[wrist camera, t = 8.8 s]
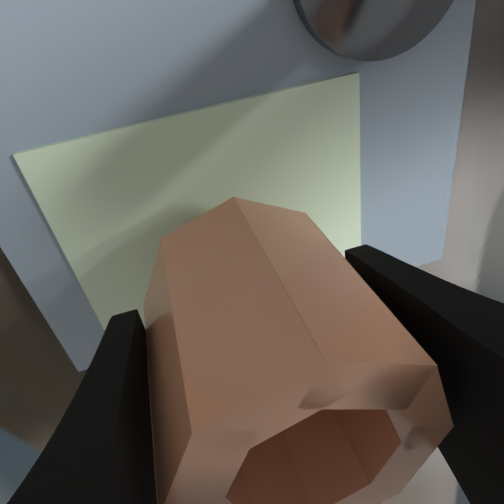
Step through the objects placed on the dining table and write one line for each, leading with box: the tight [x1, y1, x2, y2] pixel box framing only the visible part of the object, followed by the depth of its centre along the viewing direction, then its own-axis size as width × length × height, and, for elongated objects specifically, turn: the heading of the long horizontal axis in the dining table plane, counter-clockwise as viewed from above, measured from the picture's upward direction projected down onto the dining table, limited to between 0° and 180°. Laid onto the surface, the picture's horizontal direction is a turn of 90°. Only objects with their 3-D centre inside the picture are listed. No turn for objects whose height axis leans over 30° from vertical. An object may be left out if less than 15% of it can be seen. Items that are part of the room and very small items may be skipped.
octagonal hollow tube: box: [143, 197, 454, 504], centre depth 9 cm, size 5×5×6 cm
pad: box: [13, 71, 361, 331], centre depth 13 cm, size 9×9×1 cm
